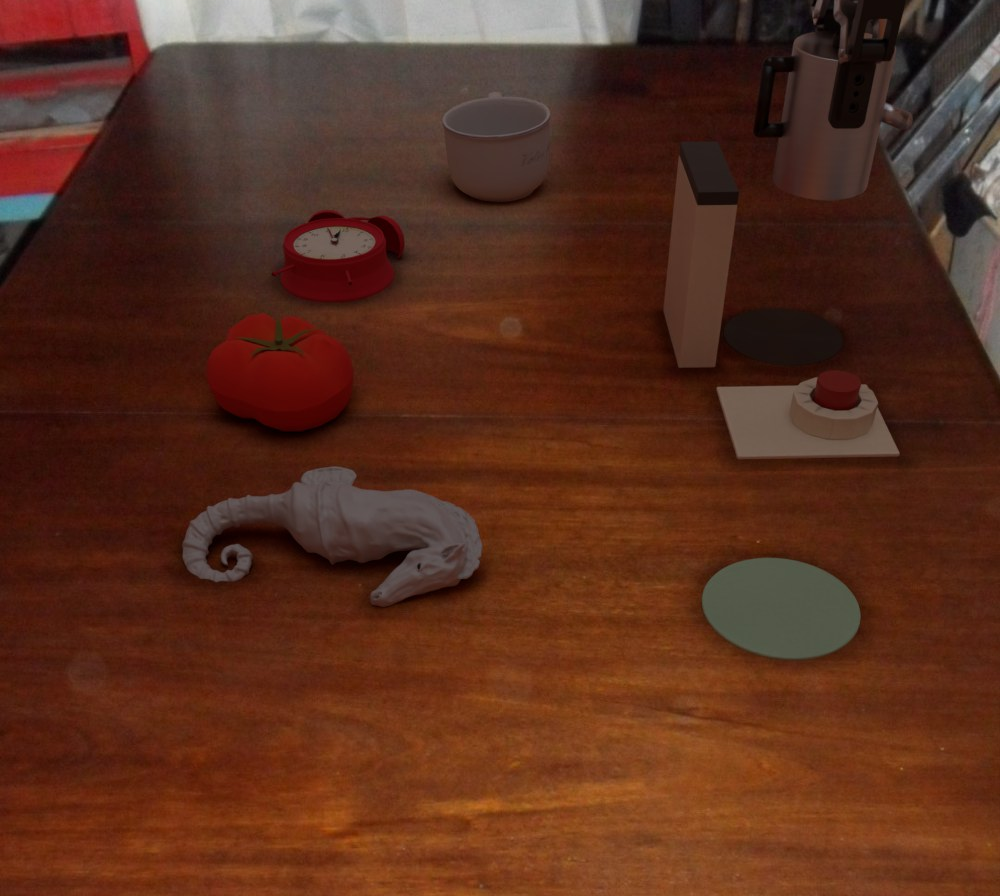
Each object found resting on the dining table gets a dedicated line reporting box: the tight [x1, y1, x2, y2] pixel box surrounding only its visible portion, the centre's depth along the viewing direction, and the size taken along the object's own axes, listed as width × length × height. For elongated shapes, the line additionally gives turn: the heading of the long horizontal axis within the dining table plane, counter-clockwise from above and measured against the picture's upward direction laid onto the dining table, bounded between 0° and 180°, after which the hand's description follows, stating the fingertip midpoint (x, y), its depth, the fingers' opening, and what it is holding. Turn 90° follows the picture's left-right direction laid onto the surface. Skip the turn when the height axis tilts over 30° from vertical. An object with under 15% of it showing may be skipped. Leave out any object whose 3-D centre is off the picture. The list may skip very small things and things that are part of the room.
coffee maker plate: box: [722, 307, 844, 367], centre depth 101 cm, size 10×10×1 cm
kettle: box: [752, 30, 914, 201], centre depth 78 cm, size 10×6×9 cm, turn 91°
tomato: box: [205, 312, 355, 432], centre depth 92 cm, size 10×11×6 cm
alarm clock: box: [271, 209, 406, 304], centre depth 109 cm, size 10×6×15 cm
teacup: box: [441, 91, 552, 203], centre depth 122 cm, size 14×11×8 cm
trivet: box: [700, 557, 862, 661], centre depth 76 cm, size 10×10×1 cm
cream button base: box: [715, 376, 901, 460], centre depth 90 cm, size 12×10×3 cm
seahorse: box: [181, 465, 484, 608], centre depth 78 cm, size 5×12×20 cm
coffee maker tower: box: [662, 141, 740, 369], centre depth 96 cm, size 3×10×15 cm, turn 2°
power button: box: [813, 369, 862, 411], centre depth 89 cm, size 3×3×2 cm
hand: (833, 106), depth 78 cm, fingers closed on kettle, 6 cm apart
